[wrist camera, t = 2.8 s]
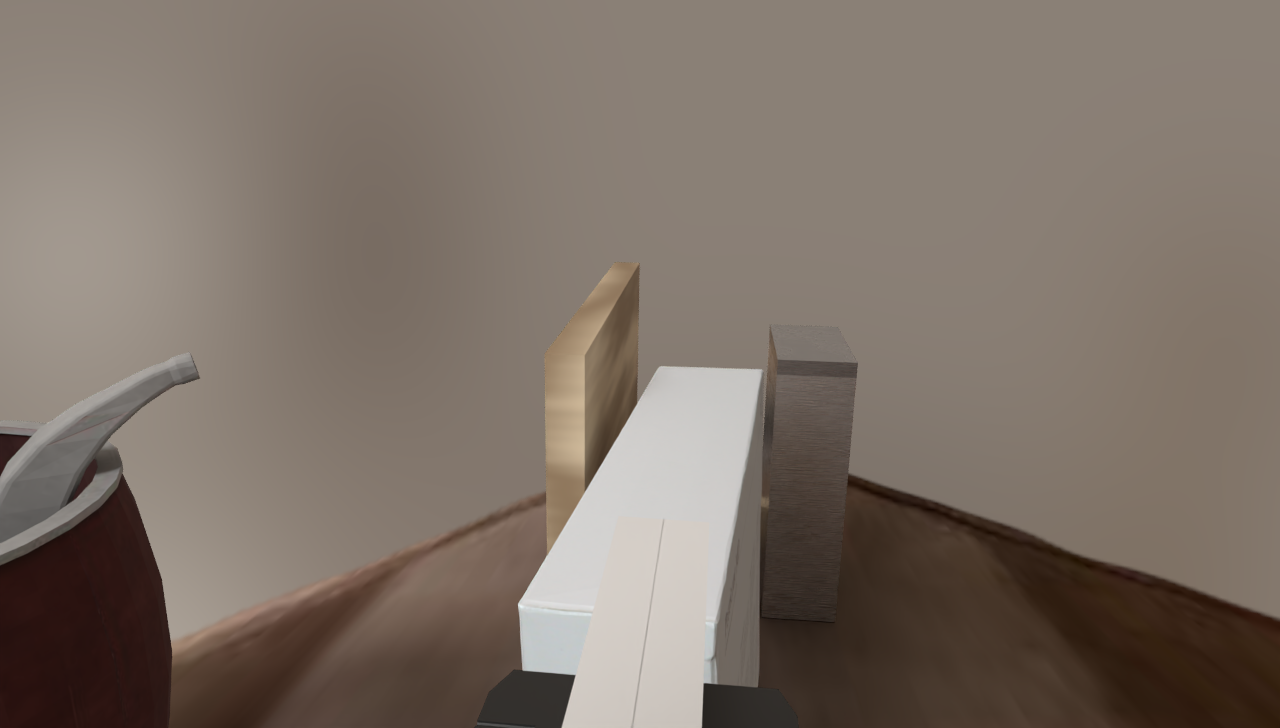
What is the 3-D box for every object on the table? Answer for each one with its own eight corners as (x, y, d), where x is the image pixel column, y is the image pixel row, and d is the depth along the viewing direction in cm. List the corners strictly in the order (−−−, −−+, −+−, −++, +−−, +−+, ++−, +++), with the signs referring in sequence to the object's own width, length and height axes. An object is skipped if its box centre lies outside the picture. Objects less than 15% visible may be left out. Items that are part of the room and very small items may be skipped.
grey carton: (819, 553, 56) (837, 327, 52) (835, 622, 48) (857, 362, 44) (756, 549, 56) (769, 324, 52) (761, 617, 49) (777, 359, 45)
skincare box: (651, 662, 45) (658, 360, 40) (759, 675, 44) (778, 368, 39) (523, 1100, 25) (511, 593, 20) (717, 1142, 24) (747, 620, 19)
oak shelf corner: (755, 539, 58) (771, 267, 53) (774, 779, 37) (803, 364, 32) (612, 530, 59) (615, 262, 54) (549, 761, 38) (544, 353, 33)
